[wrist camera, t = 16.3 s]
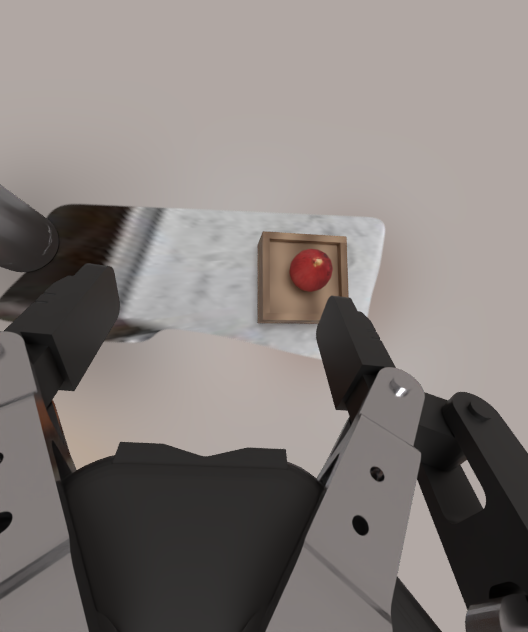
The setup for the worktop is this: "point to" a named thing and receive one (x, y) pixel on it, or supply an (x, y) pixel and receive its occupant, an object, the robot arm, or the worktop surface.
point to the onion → (311, 270)
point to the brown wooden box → (279, 290)
